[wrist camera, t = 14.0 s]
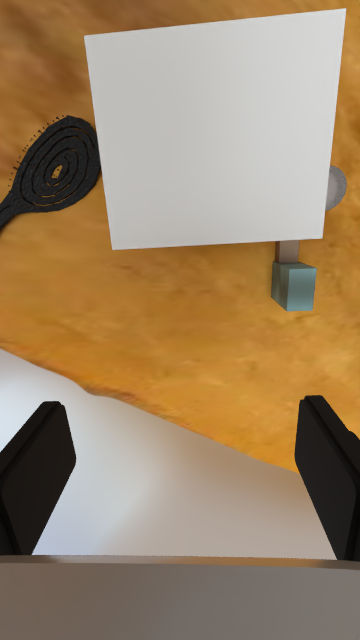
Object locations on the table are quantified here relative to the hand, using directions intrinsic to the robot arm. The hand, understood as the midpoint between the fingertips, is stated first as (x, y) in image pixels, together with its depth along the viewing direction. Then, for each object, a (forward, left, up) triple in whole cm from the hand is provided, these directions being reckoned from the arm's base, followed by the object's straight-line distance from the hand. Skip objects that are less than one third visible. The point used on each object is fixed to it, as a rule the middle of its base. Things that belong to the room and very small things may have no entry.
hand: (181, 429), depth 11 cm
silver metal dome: (-11, +17, -31) cm, 36 cm away
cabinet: (-13, +3, -30) cm, 33 cm away
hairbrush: (-12, -21, -31) cm, 39 cm away
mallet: (-7, +13, -30) cm, 34 cm away
